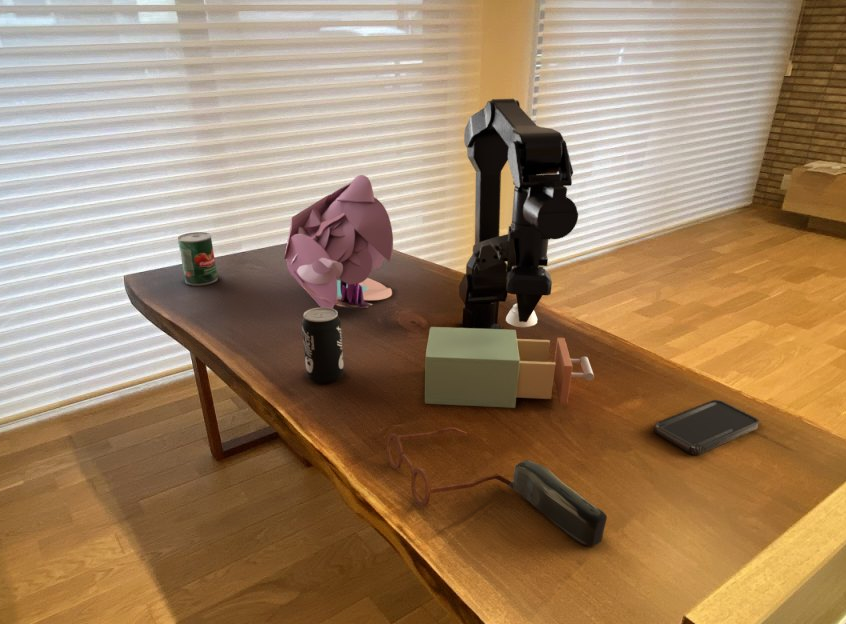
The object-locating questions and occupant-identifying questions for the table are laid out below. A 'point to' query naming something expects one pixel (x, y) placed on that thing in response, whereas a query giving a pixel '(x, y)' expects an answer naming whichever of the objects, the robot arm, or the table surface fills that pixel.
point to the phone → (706, 426)
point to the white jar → (514, 318)
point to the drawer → (547, 369)
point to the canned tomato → (197, 258)
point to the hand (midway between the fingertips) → (522, 317)
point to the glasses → (419, 470)
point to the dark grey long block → (559, 503)
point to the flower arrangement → (341, 246)
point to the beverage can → (323, 345)
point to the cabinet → (471, 367)
